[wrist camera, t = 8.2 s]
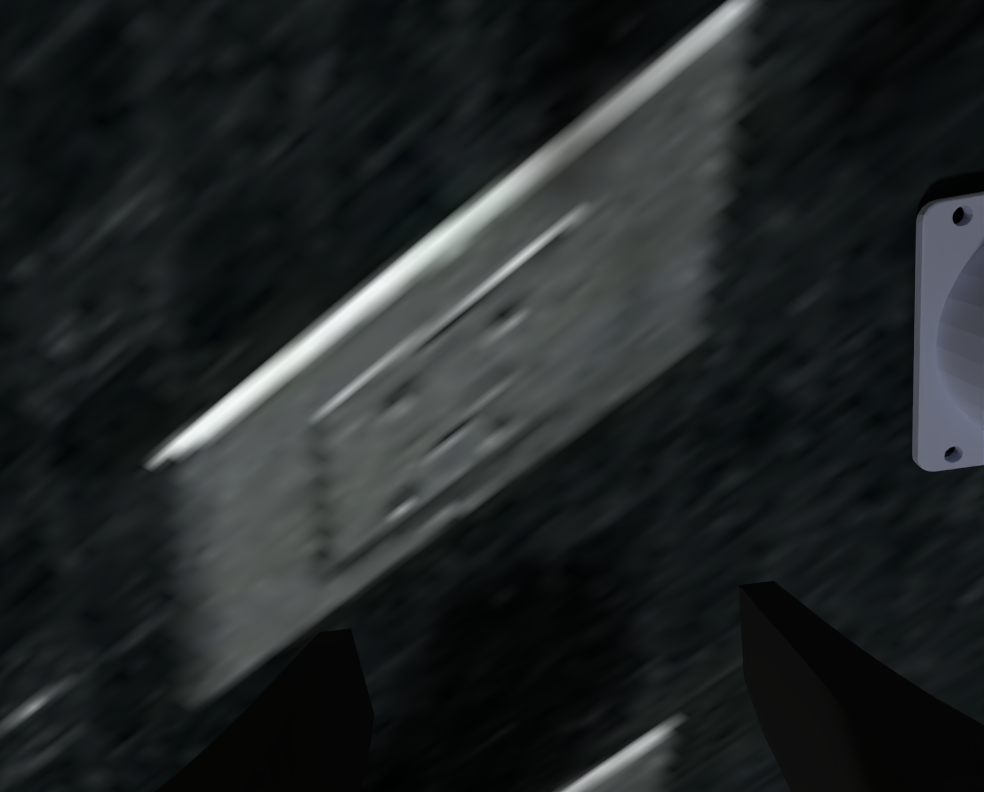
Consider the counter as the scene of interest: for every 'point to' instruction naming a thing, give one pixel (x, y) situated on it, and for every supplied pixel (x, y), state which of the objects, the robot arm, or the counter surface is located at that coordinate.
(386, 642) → the counter surface
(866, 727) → the robot arm
